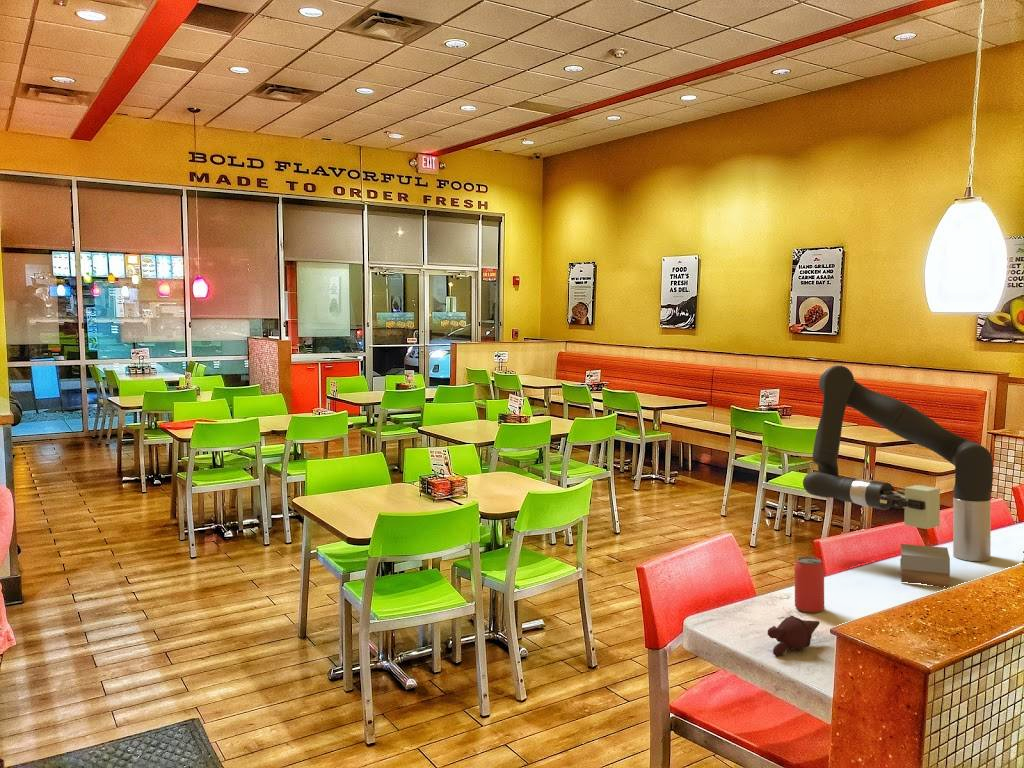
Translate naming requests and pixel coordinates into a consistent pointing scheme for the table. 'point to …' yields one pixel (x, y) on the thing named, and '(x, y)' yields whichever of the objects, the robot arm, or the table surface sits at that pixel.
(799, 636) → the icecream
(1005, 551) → the table surface
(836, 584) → the table surface
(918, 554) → the tower top block
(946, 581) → the tower base block
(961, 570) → the table surface
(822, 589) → the beer can
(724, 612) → the table surface
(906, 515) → the sage block
